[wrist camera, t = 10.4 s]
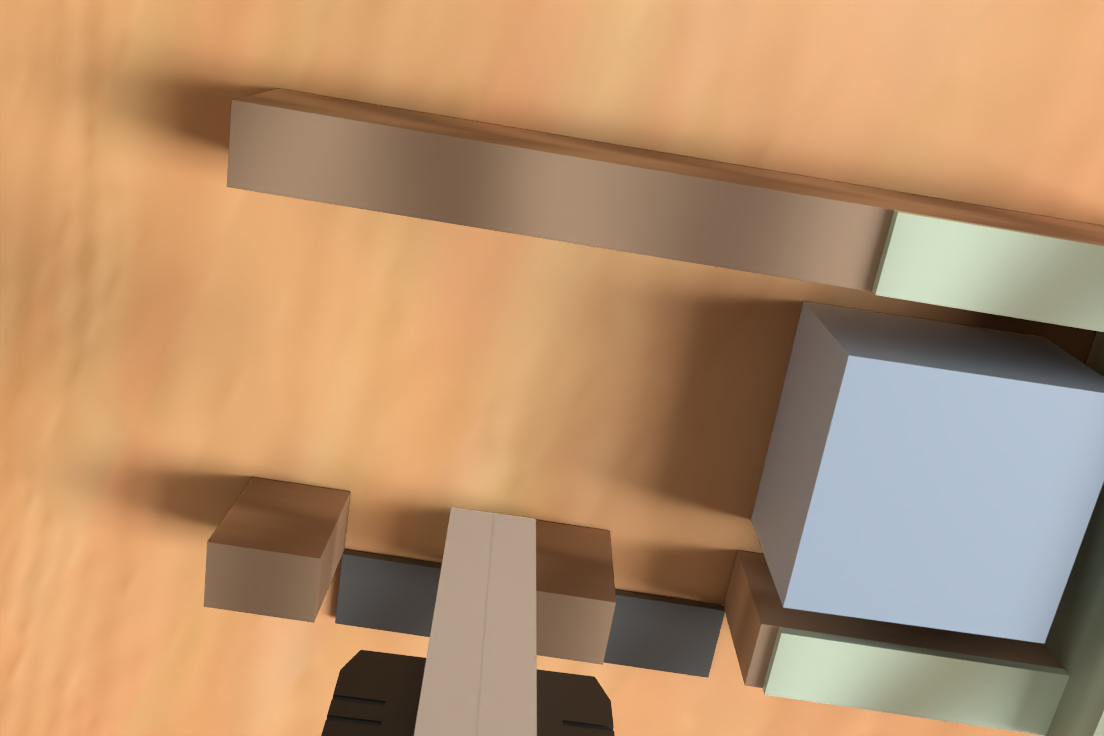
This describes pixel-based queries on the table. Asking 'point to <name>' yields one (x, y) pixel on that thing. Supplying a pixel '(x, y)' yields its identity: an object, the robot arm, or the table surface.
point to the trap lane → (705, 238)
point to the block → (929, 473)
